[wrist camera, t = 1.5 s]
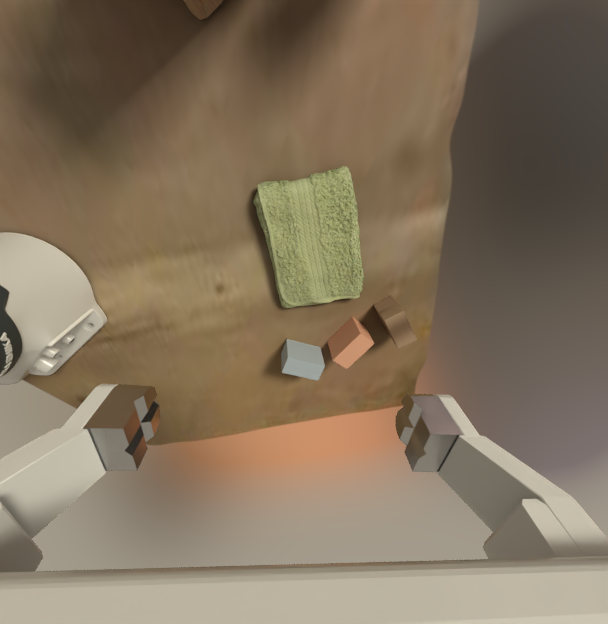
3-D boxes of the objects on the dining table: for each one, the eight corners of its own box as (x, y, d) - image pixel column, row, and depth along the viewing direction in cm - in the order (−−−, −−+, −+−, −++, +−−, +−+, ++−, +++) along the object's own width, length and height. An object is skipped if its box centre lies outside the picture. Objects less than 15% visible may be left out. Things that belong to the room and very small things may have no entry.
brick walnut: (403, 322, 46) (416, 339, 41) (386, 331, 46) (398, 348, 42) (390, 295, 43) (403, 310, 38) (373, 304, 43) (384, 320, 39)
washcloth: (281, 307, 42) (281, 317, 40) (249, 184, 34) (247, 186, 31) (363, 290, 42) (370, 299, 40) (353, 162, 34) (360, 162, 31)
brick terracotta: (340, 349, 47) (346, 369, 43) (327, 341, 46) (332, 360, 42) (364, 326, 45) (374, 343, 41) (352, 316, 44) (360, 333, 40)
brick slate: (320, 347, 46) (325, 366, 42) (313, 360, 48) (317, 380, 43) (286, 338, 45) (287, 357, 40) (281, 352, 46) (281, 372, 42)
